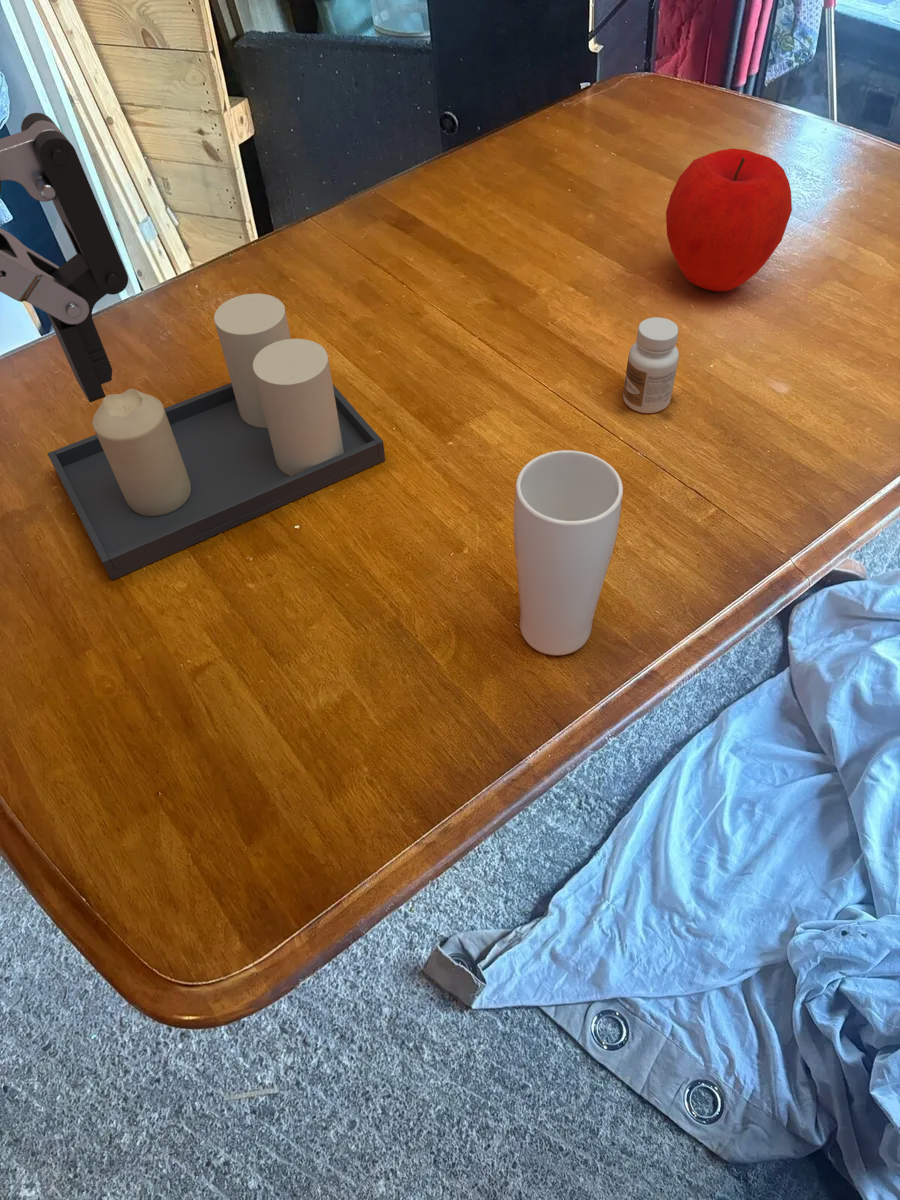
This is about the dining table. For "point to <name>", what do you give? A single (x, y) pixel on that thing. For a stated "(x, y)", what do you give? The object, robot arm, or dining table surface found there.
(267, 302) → the ivory candle
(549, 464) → the drinking glass
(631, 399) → the pill bottle
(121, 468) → the candle
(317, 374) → the ivory candle
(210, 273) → the dining table surface
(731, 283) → the apple
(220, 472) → the tray
